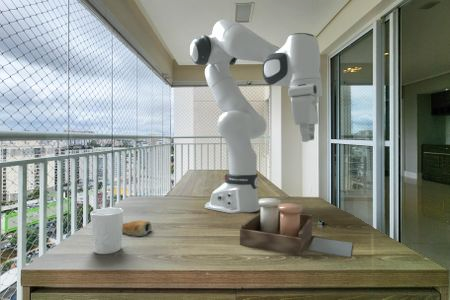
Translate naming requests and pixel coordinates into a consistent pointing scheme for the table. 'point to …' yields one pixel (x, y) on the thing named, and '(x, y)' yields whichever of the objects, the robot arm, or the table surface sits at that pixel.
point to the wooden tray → (276, 236)
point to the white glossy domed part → (269, 215)
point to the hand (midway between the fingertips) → (308, 140)
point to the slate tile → (331, 247)
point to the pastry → (137, 228)
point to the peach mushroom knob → (289, 219)
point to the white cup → (107, 230)
